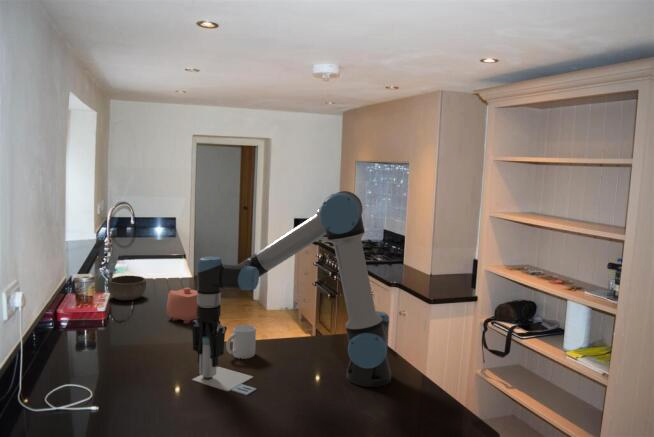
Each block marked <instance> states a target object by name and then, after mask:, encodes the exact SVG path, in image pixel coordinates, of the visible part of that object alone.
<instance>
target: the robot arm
mask: <svg viewBox="0 0 654 437" xmlns="http://www.w3.org/2000/svg"><path fill="white" fill-rule="evenodd" d="M363 210H364V208H363V204H362V201H361V199H360V197H359V196H358V195H356V194H355V193H354V192H351V191H347V190H344V191H343V190H342V191H339V192H336V193H333V194H330V195H328V197H326V198H325V200H323V202H322V205H321V206H320V207H319V208H318V209H317V211H316V212H317V213H315V214H314V215H312V216H310V217H308V218H307V219H306V220H305V221H303V222H301V223H299V224H298V225H297V226H295V227H293V228H292V229H291V230H289V231H288V232H286V233H285V234H283V235H281V236H280V237H278V238H277V239H276V240H274V241H272V242H271V243H269V244H267V245H266V246H265V247H262V248H261V249H260V250H258V251H257V252H256V253H254V254H252V255H251V256H249V257H247V258H246V259H244V260H242V262H240V263H238V264H237V265H236V264H235V265H234V264H233V265H232V264H224V263H223V262H222V258H221V257H219V256H211V255H210V256H203V257H201V258H199V259H198V261H197V270H196V273H197V274H196V275H197V276H196V277H197V279H196V280H197V281H196V283H197V284H196V285H197V287H196V288H197V290H196V291H197V304H198V306H197V317H198V319H197V320H196V319H194V320H191V321H190V325H191V328H192V334H191V335H192V350H193V351H194V352H196V353H197V363H198V366H199V367H198V374H199V375H202V357H203V343H202V337H204V336H206V335H208V337H209V341H210V349H211V356H210V357H209V377H212V376H214V375H216V367H219V357H221V356H223V355H224V352H225V351H224V350H225V339H226V331H227V329H228V328H227V326H223V325H222V324H221V321H220V317H221V315H222V314H221V308H222V305H220V304H221V301H222V300H221V298H222V297H221V296H222V289H231V290H242V291H254V290H256V289H257V287H258V284H259V283H260V282H259V280H260V277H262V276H263V275H265V274H266V273H268V272H269V271H271V270H272V269H274V268H276V267H278V265H280V264H282V263H283V262H285V261H287V260H288V259H289V258H291V257H293V256H294V255H296V254H298V253H300V252H301V251H302V250H304V249H305V248H307V247H309V246H310V245H312V244H313V243H315V242H316V241H318V240H320V239H321V238H323V237H325V236H326V238H327V241H329V243H331V244H333V246H334V247H333V248H334V251H335V252H334V253H335V257H336V262H337V268H338V272H339V277H340V282H341V286H342V291H343V297H344V302H345V306H346V311H347V317H348V320H347V321H346V323H345V326H344V327H345V331H346V335H347V341H348V345H347V353H348V356H349V358H350V361H349V363H348V366H347V368H346V375H345V376H346V379H347V381H348V382H350V383H352V384H354V385H356V386H360V387H365V388H379V387H384V386H386V385H389V383H391V381H392V371H391V368H390V365H389V360H388V346H389V345H388V344H389V342H388V341H389V328H390V316H389V315H388V313H386V312H383V311H377V310H376V307H375V306H376V305H375V302H374V297H373V292H372V287H371V281H370V277H369V273H368V267H367V266H368V265H367V264H366V263H367V262H366V256H365V253H364V247H363V242H362V238H363V237H364V235H365V233H366V232H365V227H364V226H365V225H364V222H363V217H362V216H363Z"/></svg>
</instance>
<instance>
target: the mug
mask: <svg viewBox="0 0 654 437" xmlns="http://www.w3.org/2000/svg"><path fill="white" fill-rule="evenodd" d="M256 332H257V327H256V326H255V325H252V324H251V325H250V324H239V325H238V324H237V325H235V326H233V328H232V334H231V335H229V337H228V338H227V341H226V345H225V346H226V347H225V348H226V351H227V353H229V354H231V355H232V356H233V357H235V358H237V359H240V358H241V359H243V360H244V359H245V360H246V359H250V358H253V357H254V356H255V355H256V342H257V341H256V340H257V339H256V338H257V336H256V335H257V333H256ZM231 342H232V349H231Z"/></svg>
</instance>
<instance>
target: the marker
mask: <svg viewBox="0 0 654 437" xmlns="http://www.w3.org/2000/svg"><path fill="white" fill-rule="evenodd" d="M202 343H203V357H202V374H201V375H202V376H203V379H204V380H210V379H212V377H209V357H210V356H211V349H210V341H209V337H208V335H206V336H204V337H202Z"/></svg>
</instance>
